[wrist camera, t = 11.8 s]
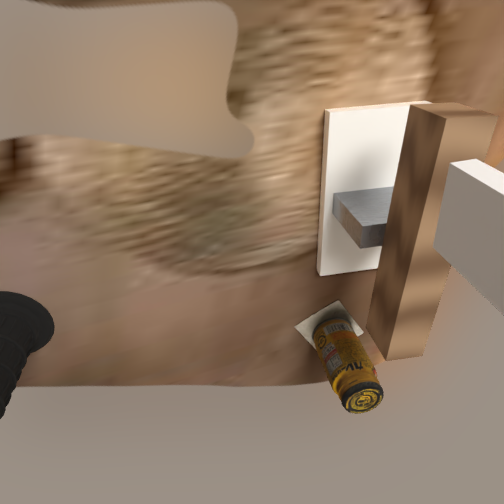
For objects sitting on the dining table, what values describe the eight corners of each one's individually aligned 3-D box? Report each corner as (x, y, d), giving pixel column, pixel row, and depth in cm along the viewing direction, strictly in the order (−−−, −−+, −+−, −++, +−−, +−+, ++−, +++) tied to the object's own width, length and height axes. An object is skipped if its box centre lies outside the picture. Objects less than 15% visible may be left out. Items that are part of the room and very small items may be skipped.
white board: (325, 109, 39) (329, 112, 38) (425, 100, 41) (433, 103, 40) (316, 269, 50) (320, 276, 49) (396, 258, 51) (401, 264, 50)
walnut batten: (410, 104, 31) (446, 118, 27) (455, 102, 31) (498, 116, 27) (365, 327, 44) (385, 361, 39) (398, 323, 44) (422, 355, 40)
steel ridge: (333, 193, 43) (362, 226, 36) (409, 184, 44) (451, 215, 37) (332, 213, 44) (359, 248, 38) (405, 204, 45) (445, 237, 39)
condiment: (322, 356, 59) (352, 426, 49) (294, 325, 55) (320, 396, 45) (363, 331, 58) (402, 398, 48) (337, 298, 53) (375, 364, 43)
